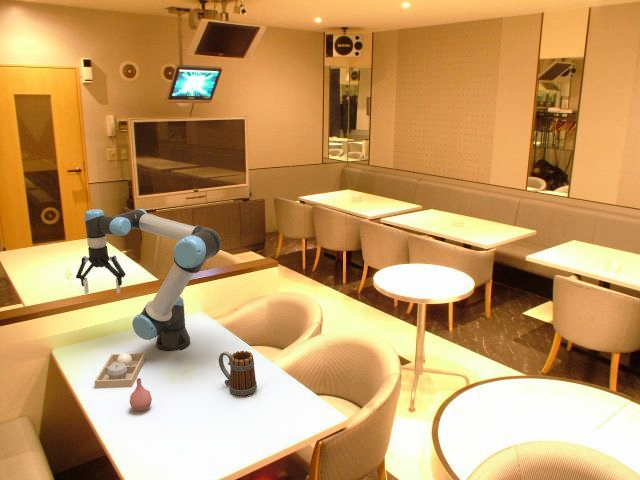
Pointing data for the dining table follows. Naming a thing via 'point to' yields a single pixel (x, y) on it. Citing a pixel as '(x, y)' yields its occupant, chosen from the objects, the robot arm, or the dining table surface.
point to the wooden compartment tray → (131, 375)
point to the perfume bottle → (140, 397)
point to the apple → (117, 371)
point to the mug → (239, 373)
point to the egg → (124, 359)
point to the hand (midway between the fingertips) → (102, 292)
